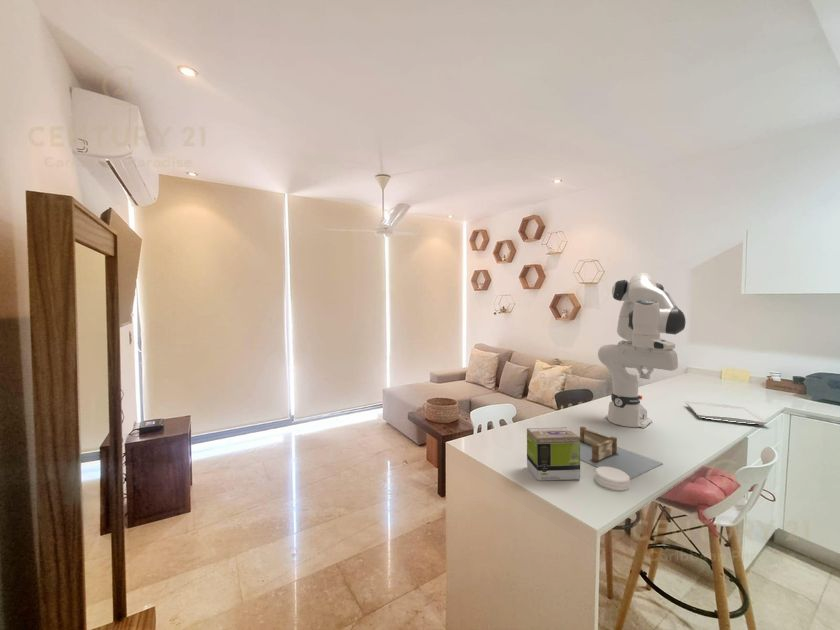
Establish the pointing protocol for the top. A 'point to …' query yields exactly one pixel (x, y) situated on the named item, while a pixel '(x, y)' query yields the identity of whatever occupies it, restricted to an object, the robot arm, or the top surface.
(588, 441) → the fence fixed panel
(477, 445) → the top surface
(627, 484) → the coaster
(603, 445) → the panel
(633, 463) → the card
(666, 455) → the top surface
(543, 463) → the tea box
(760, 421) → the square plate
